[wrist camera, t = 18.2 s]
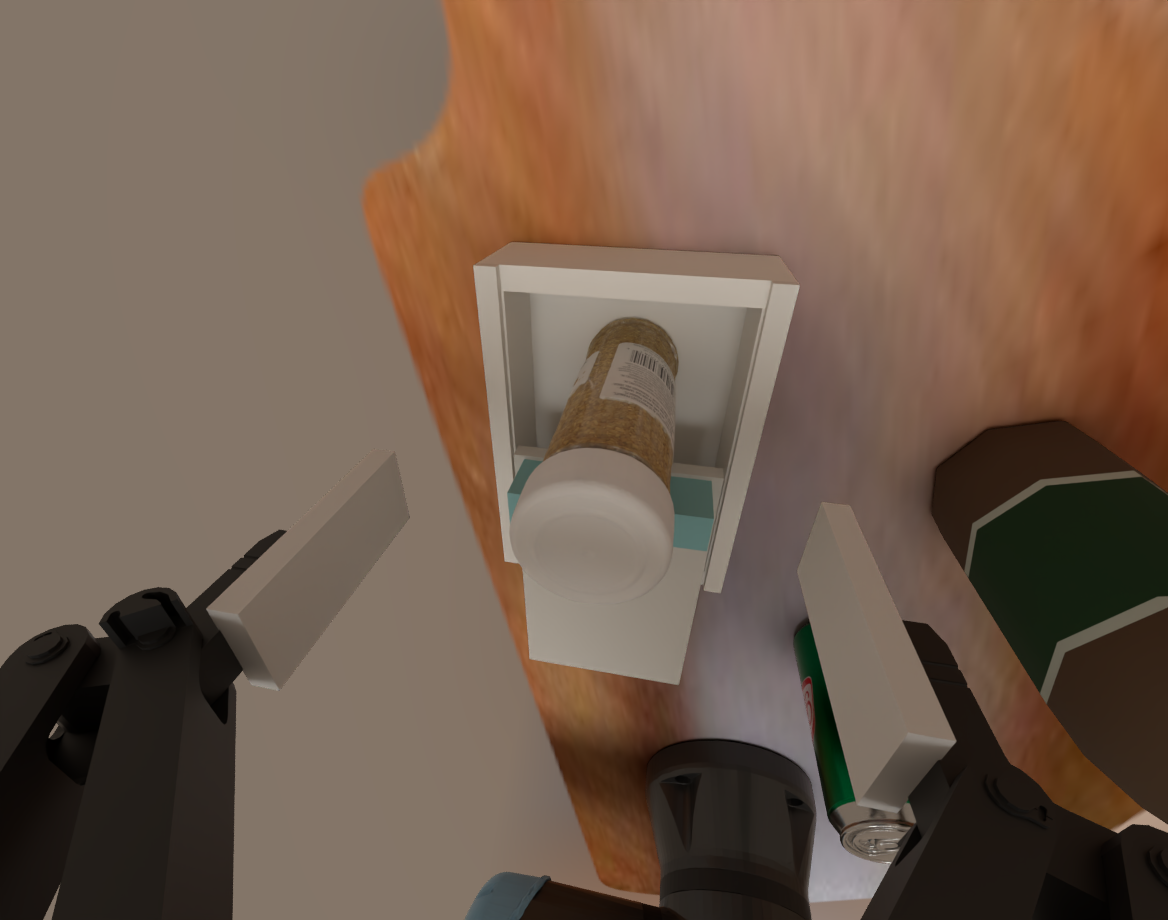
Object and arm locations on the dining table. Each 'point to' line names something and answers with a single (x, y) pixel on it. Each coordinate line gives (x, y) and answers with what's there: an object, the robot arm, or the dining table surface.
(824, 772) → the soda can
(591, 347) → the sprinkles bottle
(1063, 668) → the beer bottle
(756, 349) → the mailer box
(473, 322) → the dining table surface
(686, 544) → the lid
